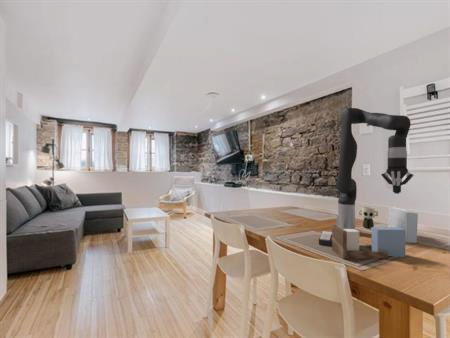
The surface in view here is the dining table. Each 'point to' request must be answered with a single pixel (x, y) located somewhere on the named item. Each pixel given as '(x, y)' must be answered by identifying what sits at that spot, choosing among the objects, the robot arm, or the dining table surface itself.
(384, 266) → the dining table surface
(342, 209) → the robot arm
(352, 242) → the shelved book
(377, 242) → the loose book
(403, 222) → the skincare box
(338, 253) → the book rack
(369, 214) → the character mug
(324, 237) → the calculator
